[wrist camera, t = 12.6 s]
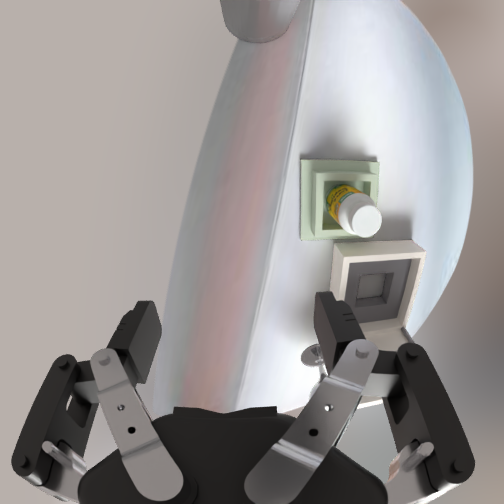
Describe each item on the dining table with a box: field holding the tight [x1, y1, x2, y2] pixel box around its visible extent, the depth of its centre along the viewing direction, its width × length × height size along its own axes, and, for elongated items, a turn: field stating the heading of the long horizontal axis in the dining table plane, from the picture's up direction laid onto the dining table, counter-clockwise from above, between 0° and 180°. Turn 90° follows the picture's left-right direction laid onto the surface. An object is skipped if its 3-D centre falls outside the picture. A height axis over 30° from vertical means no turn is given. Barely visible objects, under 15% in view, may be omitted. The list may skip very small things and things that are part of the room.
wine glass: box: [301, 344, 328, 400], centre depth 46 cm, size 8×8×15 cm
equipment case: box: [329, 240, 427, 409], centre depth 37 cm, size 17×15×19 cm
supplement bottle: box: [325, 184, 382, 237], centre depth 34 cm, size 5×5×10 cm
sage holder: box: [300, 159, 380, 241], centre depth 37 cm, size 12×12×3 cm
